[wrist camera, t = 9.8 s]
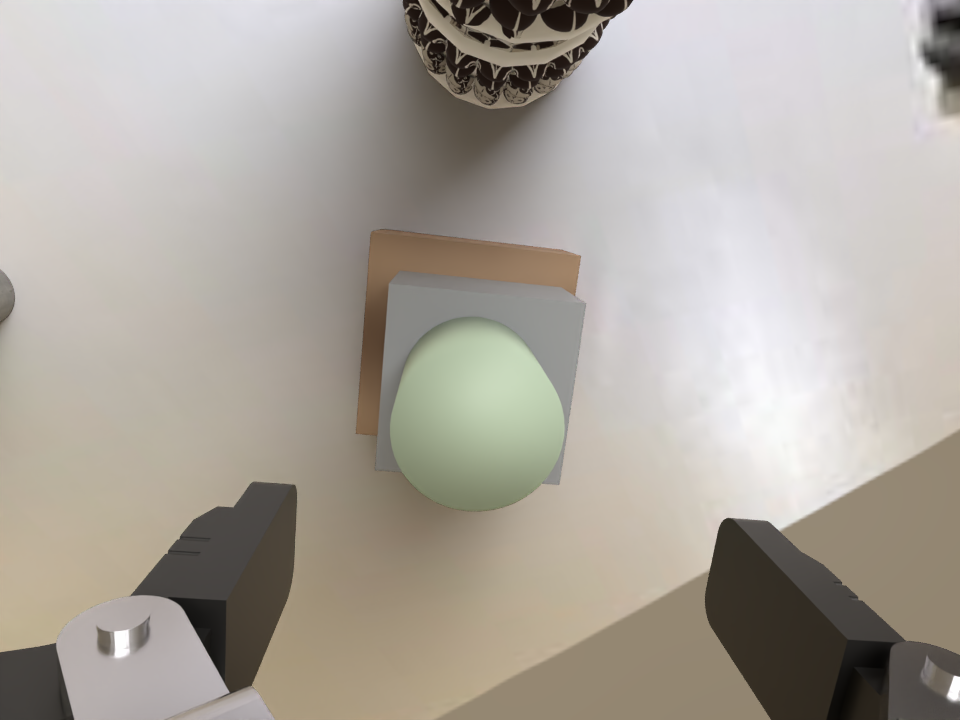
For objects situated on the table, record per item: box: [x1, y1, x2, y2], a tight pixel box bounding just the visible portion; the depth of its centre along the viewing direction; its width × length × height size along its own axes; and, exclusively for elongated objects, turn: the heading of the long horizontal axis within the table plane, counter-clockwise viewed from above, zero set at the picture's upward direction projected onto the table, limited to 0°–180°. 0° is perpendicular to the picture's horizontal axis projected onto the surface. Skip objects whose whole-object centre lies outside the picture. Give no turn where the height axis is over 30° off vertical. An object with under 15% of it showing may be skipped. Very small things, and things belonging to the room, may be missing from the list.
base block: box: [356, 229, 581, 436], centre depth 30 cm, size 9×9×5 cm
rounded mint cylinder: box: [390, 317, 565, 511], centre depth 20 cm, size 5×5×5 cm
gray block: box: [375, 271, 586, 485], centre depth 25 cm, size 7×7×5 cm
